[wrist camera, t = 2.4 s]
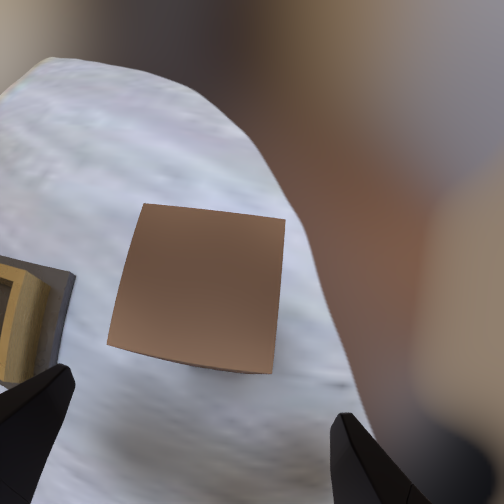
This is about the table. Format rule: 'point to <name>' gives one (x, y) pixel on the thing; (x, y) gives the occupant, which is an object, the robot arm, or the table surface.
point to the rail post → (201, 289)
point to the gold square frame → (30, 318)
